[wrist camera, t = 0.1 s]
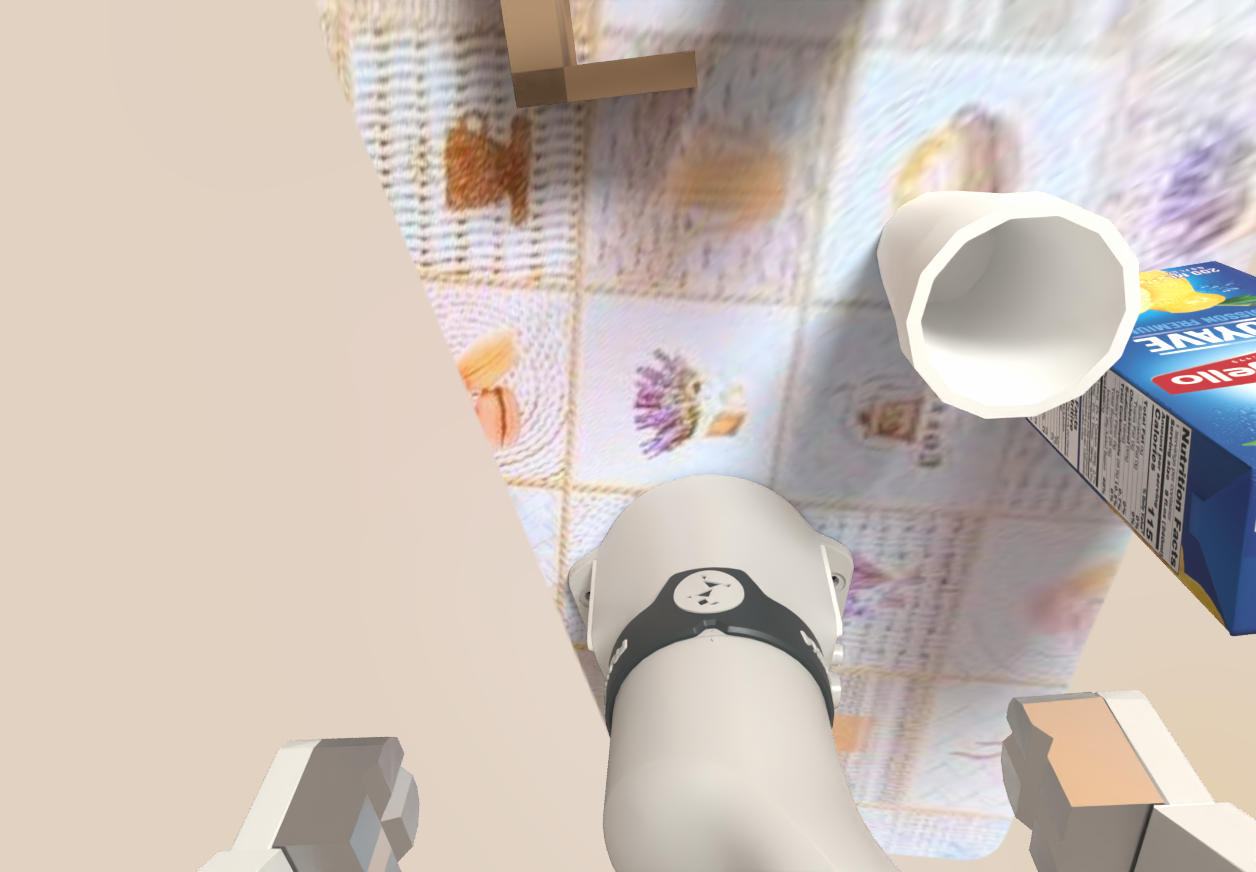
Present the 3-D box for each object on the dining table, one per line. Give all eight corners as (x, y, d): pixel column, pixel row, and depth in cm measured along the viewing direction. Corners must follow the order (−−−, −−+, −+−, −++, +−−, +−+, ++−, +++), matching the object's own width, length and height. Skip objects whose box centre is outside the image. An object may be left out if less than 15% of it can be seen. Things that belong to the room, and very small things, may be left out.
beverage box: (1009, 294, 48) (1252, 470, 28) (1215, 260, 46) (1628, 420, 26) (1009, 403, 50) (1230, 636, 30) (1204, 375, 49) (1569, 598, 29)
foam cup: (845, 333, 49) (899, 422, 37) (850, 168, 45) (913, 210, 33) (1012, 323, 48) (1122, 412, 36) (1032, 155, 44) (1162, 193, 33)
